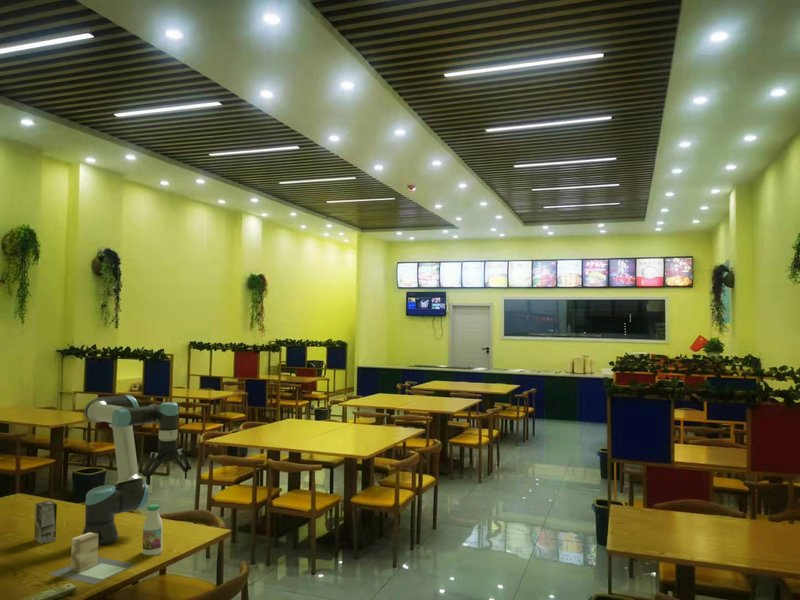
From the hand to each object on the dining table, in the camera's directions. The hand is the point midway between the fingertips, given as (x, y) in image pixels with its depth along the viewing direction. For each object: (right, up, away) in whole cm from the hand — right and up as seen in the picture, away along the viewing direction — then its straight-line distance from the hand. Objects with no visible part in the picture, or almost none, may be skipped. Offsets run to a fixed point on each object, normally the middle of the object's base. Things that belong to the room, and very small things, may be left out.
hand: (166, 489), depth 254 cm
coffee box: (-60, -27, +14) cm, 67 cm away
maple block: (-25, -24, -19) cm, 40 cm away
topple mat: (-20, -25, -21) cm, 39 cm away
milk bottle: (-5, -26, -3) cm, 27 cm away
